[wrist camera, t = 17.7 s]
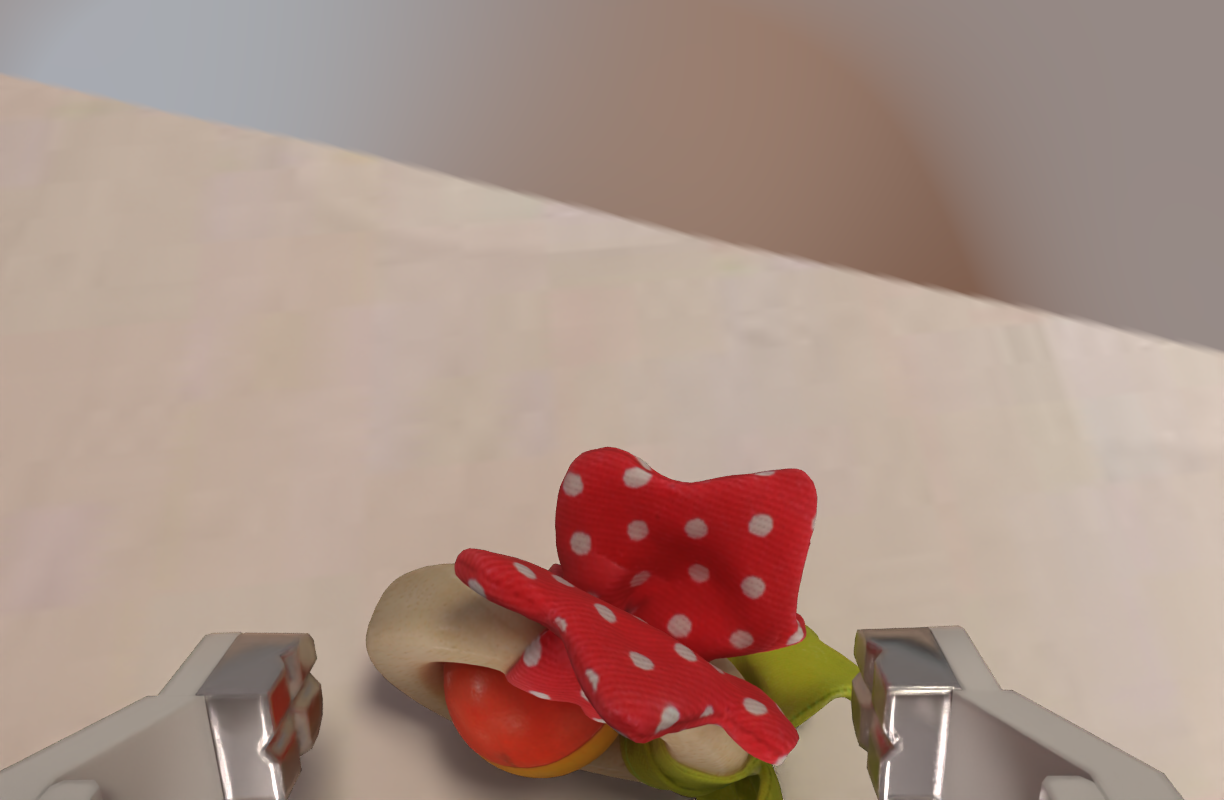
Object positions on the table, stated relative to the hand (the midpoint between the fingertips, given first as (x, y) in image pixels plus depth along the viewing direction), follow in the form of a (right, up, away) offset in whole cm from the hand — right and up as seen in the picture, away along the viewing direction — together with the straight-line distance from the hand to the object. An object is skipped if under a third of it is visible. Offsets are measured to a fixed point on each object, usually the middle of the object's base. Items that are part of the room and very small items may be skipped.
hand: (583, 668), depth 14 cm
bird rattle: (+1, -3, +7) cm, 8 cm away
